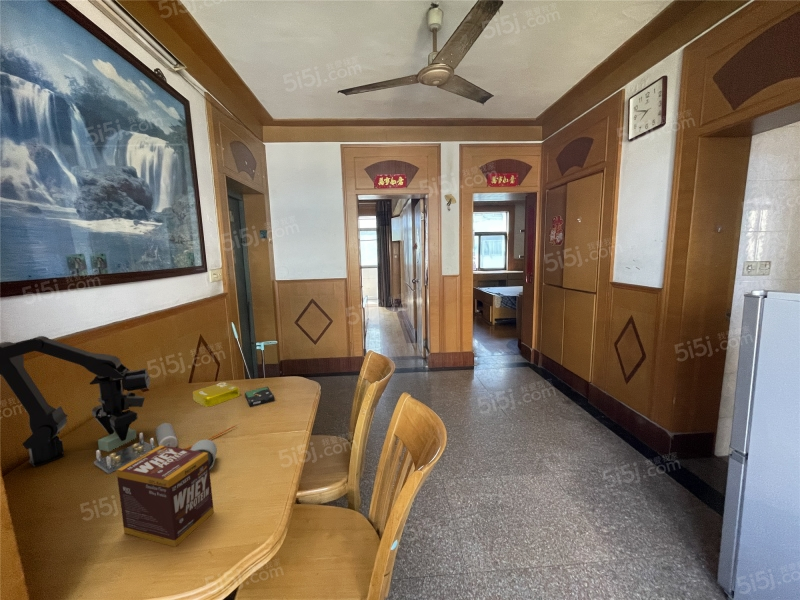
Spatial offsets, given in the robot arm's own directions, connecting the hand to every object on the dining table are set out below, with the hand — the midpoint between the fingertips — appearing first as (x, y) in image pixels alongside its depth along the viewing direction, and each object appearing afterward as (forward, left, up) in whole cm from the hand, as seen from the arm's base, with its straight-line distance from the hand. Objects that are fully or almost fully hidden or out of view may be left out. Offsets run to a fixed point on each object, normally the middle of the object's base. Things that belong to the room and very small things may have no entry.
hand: (117, 437), depth 112 cm
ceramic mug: (+5, -40, -3) cm, 40 cm away
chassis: (-2, -13, -2) cm, 14 cm away
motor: (+17, -17, -3) cm, 25 cm away
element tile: (+39, +7, -3) cm, 40 cm away
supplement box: (-10, -55, -3) cm, 56 cm away
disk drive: (+47, -12, -3) cm, 49 cm away
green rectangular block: (0, 0, -3) cm, 3 cm away
